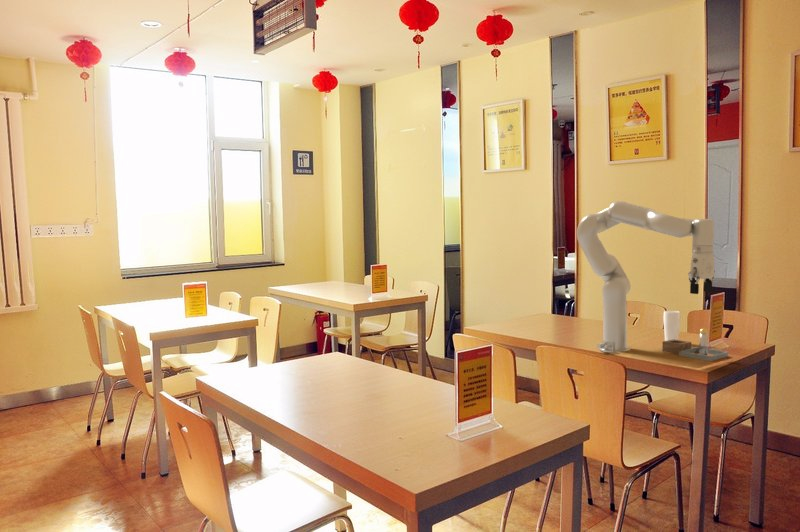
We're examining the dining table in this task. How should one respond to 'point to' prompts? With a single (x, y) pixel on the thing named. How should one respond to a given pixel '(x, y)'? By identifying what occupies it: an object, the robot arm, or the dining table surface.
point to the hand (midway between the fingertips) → (701, 292)
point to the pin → (703, 342)
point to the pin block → (675, 346)
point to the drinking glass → (671, 324)
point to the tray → (691, 354)
